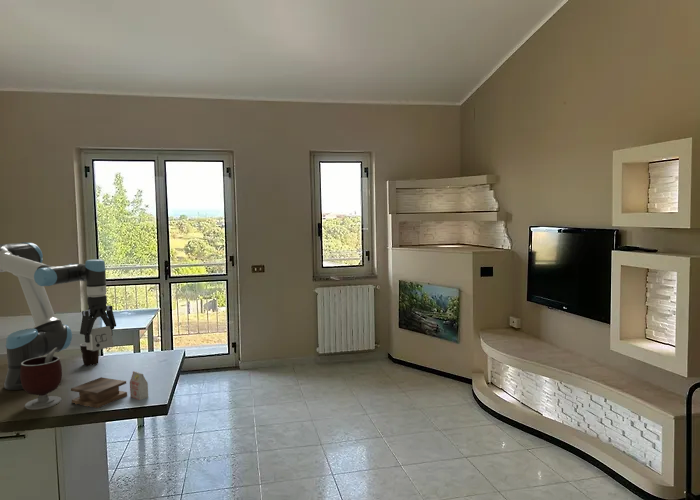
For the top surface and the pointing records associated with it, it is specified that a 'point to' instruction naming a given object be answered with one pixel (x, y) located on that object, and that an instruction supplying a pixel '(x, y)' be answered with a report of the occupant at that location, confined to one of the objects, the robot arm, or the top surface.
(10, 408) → the top surface
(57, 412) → the top surface
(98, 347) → the electrical switch
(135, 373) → the milk carton
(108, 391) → the walnut stand
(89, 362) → the coffee mug
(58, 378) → the mate gourd
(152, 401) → the top surface
